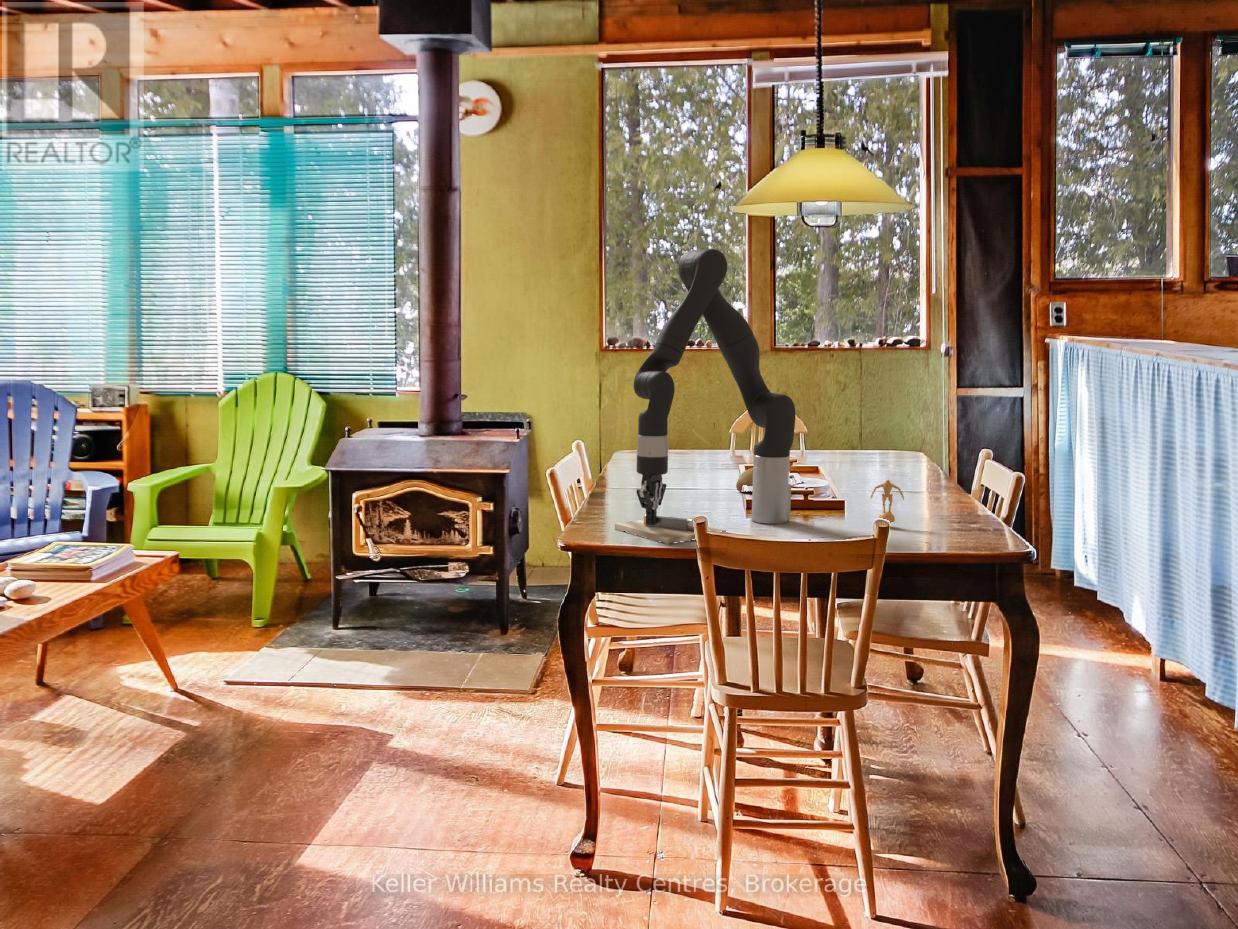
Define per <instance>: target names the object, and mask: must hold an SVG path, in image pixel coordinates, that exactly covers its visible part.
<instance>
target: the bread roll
mask: <svg viewBox="0 0 1238 929" xmlns="http://www.w3.org/2000/svg"><path fill="white" fill-rule="evenodd" d="M743 485H747V486H753V467H749V469H746V470H745V471H743V472H742V473H741V475H740V476H739V477H738V479H737V481H736V484H735V488H736V490H737V491H738V492H739V491H741V490H742V486H743Z"/></svg>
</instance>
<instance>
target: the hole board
mask: <svg viewBox="0 0 1238 929" xmlns="http://www.w3.org/2000/svg"><path fill="white" fill-rule="evenodd" d="M670 517H673V518H677V516H676V517H675V516H671V515H670ZM643 523H644V519H640V520H633V521H623V522H615V523H614V530H617V531H618V532H619V531H620V532H622V531H625V532H624V533H626V532H627V534H629V533H630V534H629V535H633V534H636V535H639V536H638V537H640V536H641V538H643V537H647V538H649V539H648V540H650V539H652V540H651V541H654V540H655V541H654V542H657V541H661V542H663V543H662V544H664V543H666V544H665V545H670V544H669V543H674V542H680V541H689V540H692V539H695V534H694V530H687V529H680V528H670V527H660V526H650V525H643ZM708 529H709V530H710V531H722V532H726V533H727V530H726V529H722V528H719V527H716V526H711V525H708ZM636 535H635V536H636ZM647 538H646V539H647ZM661 542H660V543H661ZM689 542H690V541H689ZM674 544H675V543H674Z"/></svg>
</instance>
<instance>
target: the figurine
mask: <svg viewBox="0 0 1238 929" xmlns="http://www.w3.org/2000/svg"><path fill="white" fill-rule="evenodd" d="M880 488H882V489H883V492H884V493H882V494H881V501H882V512H881V514H879V516H878V519H879V518H883V519H887V520H889V521H890V523H891V522H894V521H896V520H895V519H896V518H895V515H894V514H893V513H892V509H891V507H892V505H893V504H892V503H893V497H894V496H893V493H891V491H892V488H893V489H896V490H898V491H899V493H900V495H901V498H902V501H904V500H905V497H904V495H903V492H902V491H901V488H900V487H899V486H897V485H895V484H894V483H892V482H891V480H889V479H886V480H885V481H884V482H883V483H880V484H879V485H876V486H875V487H874V489H873V491H872V492H871V495H870V499H873V497H874V494H875V492H876V490H877V489H880ZM887 499H888V501H889V504H888V511H886V501H887ZM894 523H895V522H894Z"/></svg>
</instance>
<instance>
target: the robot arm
mask: <svg viewBox="0 0 1238 929" xmlns="http://www.w3.org/2000/svg"><path fill="white" fill-rule="evenodd" d="M727 272H728V261H727V259H726V256H725V255H724V253H722V252H721V251H720V250H718V249H715V248H704V249H703V248H701V249H695V250H689V251H686V252H684V253H682V255H681V256H680V259H679V261H678V273H679V277H680V279H681V282H682V284H683V285H684V287H685V289H686V290H687V291H688V293H687V294H686V296H685V297H684V298H683V300H682V302H681V303H680V304H679V306H677V308H676V309H675V310H674V312H673V313H672V314H671V315H670V316H669V318H668V319H667V321H665V324H664V325H663V326H662V329H661V330H660V333H659V335H658V337H657V340H656V342H655V344H654V347H653V349H652V351H651V352H650V354H648V356H647V357H646V359H645V360H644V361H643V363H642V364H641V365H640V367H639V368H638V369H637V372H636V374H635V377H634V380H633V390H634V393H635V395H636V396H637V397H639V398H641V399H644V400H649V401H648V403H647V404H648V405H647V408H646V409H644V410H642V411H641V412H640V413H639V415H638V420H637V422H638V423H637V424H638V425H637V426H638V427H637V428H638V433H637V442H636V473H638V474H640V475H642V478H641V484H640V485H641V486H640V489H639V488H638V489H636V495H637V498H638V501H639V504H640V506H641V508H642V509H644V510H645V514H646V524H647V525H655V524H656V518H657V516H658V515H657V513H658V512H657V511H658V509H659V506H661V505H662V503H663V498H664V495H665V492H666V489H667V483H663V475H666V474H668V468H669V467H668V465H669V442H668V441H669V440H668V431H669V430H668V429H669V428H668V426H669V425H668V424H669V421H668V419H669V414H670V412H671V407H672V406H673V402H674V401H673V400H674V395H675V388H676V387H675V382H674V379H673V377H672V375H671V374H670V373H669V372H667V371H668V370H669V369H670V368H671V369H672V368H674V367H676V366H678V365H679V363H680V362H681V359H682V358H683V355H684V353H685V351H686V348H687V346H688V344H689V341H690V339H691V336H692V334H693V332H694V330H695V328H696V326H697V324H698V322H700V321H699V320H700V319H701V317H702V316H703V319H704V320H705V323H706V324H707V327H708V328H709V330H710V333H711V334H712V336H713V338H714V340H715V343H716V344H717V347H718V349H719V351H720V353H721V354H722V357H723V358H724V360H725V362H726V364H727V366H728V368H729V370H730V373H731V374H732V377H733V379H734V381H735V383H736V385H737V386H738V389H739V391H740V394H741V397H742V399H743V402H744V405H745V407H746V412H747V413H748V416H749V417H750V420H751V421H752V423H753V424H754V425H756V426H757V427H760V428H762V429H764V436H763V438H762V440H760V441H758V442H756V443H755V444H754V447H753V462H752V463H753V465H752V466H753V467H752V468H753V491H752V492H751V493H752V494H751V495H752V498H751V499H752V500H751V521H752V522H755V523H760V524H761V523H762V524H769V525H770V524H774V525H775V524H776V525H777V524H785V523H787V522H788V521H787V520H790V521H791V501H792V485H791V484H790V483H789V478H790V457H791V456H790V454H791V452H790V451H791V448H792V447H793V443H794V439H795V426H796V414H797V413H796V407H795V403H794V401H793V399H792V398H791V397H790V396H788V395H787V394H783V393H777V392H775V393H774V392H771V391H770V389H769V388H768V386H767V384H766V383H765V381H764V378H763V376H762V374H761V371H760V359H761V358H760V355H761V354H760V346H759V342H758V341H757V338H756V337H755V335H754V332H753V331H752V330H753V329H752V328H751V325H750V324H749V322H748V321H747V320H746V318H744V316H743V315H742V314H740V312H739V311H738V310H737V309H736V308H735V307H734V306H733V305H731V304H730V303H729V301H727V299H726V298H725V297H724V296H723V294H722V293H721V290H720V289H719V288H720V287H721V285H722V283H723V281H724V280H725V278H726V275H727ZM786 521H787V522H786ZM784 522H785V523H784Z"/></svg>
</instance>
